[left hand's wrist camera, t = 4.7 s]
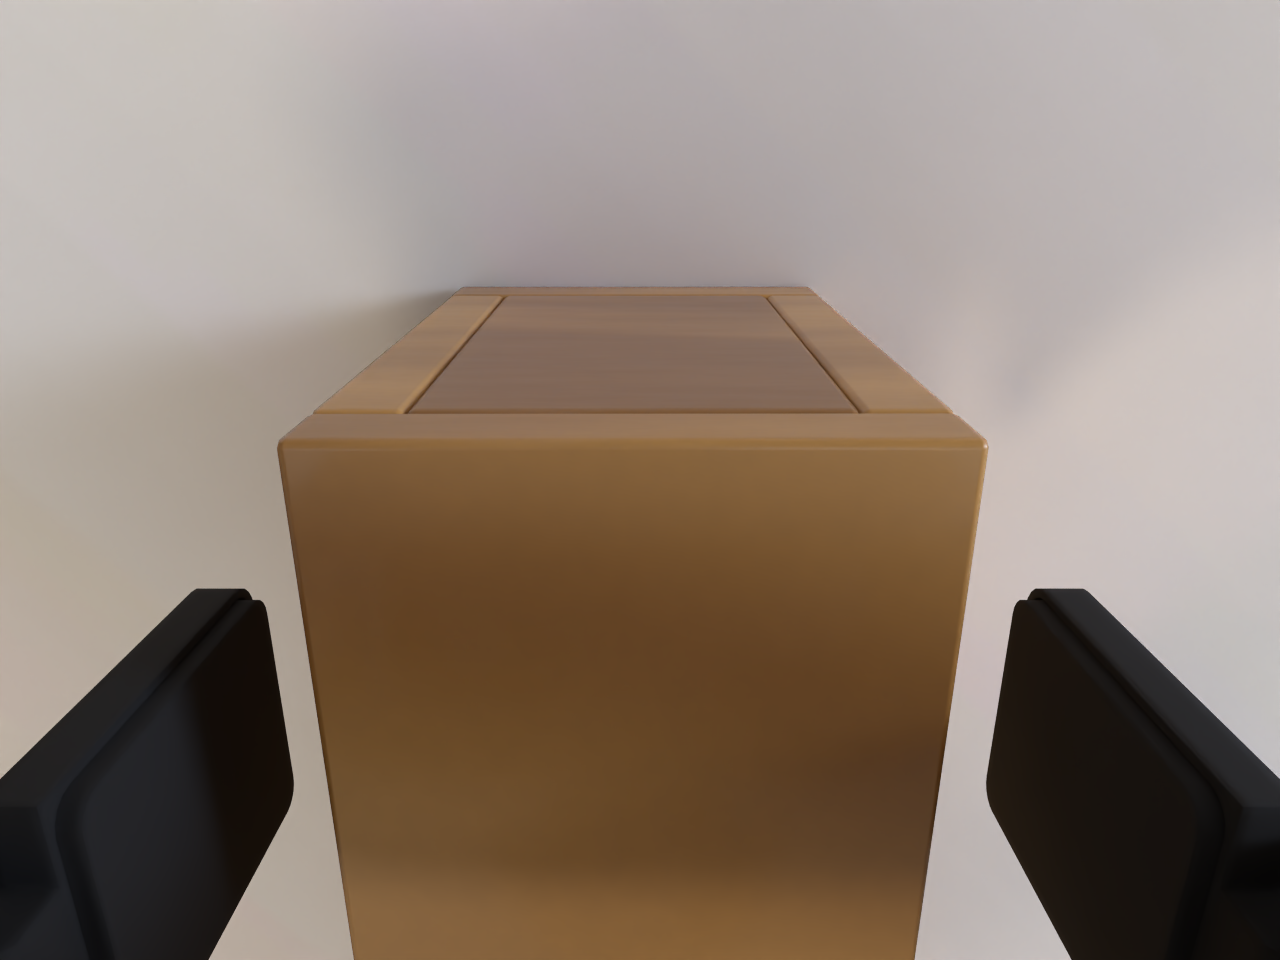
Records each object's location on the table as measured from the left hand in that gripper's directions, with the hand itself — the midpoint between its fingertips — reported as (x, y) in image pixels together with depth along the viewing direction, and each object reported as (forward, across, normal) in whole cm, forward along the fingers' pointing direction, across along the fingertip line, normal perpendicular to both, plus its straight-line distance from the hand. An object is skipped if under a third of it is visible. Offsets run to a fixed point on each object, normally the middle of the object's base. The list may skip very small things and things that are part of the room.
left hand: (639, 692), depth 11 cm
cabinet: (+6, 0, -6) cm, 9 cm away
